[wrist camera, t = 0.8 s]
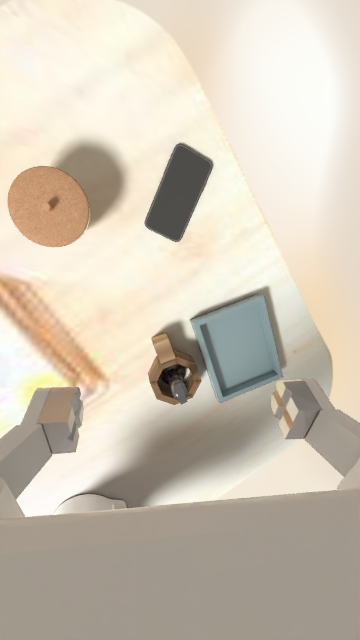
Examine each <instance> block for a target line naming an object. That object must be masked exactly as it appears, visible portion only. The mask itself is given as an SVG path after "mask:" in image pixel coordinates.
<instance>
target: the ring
mask: <svg viewBox="0 0 360 640" xmlns="http://www.w3.org/2000/svg"><path fill="white" fill-rule="evenodd" d="M152 342H153V345H154V348H155V350H156V353H157V355H158V356H157V357H156V358H155V360H154V362H153V364H152V366H151V368H150V371H149V373H148V375H149V380H150V384H151V386H152V389H153V391H154V393H155V396H156V398H157V399H158V400H161V401H164V402H167V403H170V404H173V405H176V404H178V403H180V401H177V400H176V399H175V398H174V395H173V392H172V389H169V388H167V387H164V386H161V385H159V383H158V379H159V377H160V375H161V373H162V370H163V369H165V368H167V367H170V366H172V365H175V364H180V365H183V366H185V367H188V368H189V370H190V374H189V376H188V378H187V380H186V382H185V386H186V389H187V391H188V397H187V398H186V399H187V400H188V399H190V398H193V396H194V394H195V392H196V390H197V388H198V386H199V384H200V383H201V378H200V376H199V373H198V370H197V367H196V364H195V362H194V361H193V359H192V357H191V356H189V355H186V354H184V353H181V352H179V351H176V350H173V349H172V347H171V344H170V341H169V339H168V337H167V335H166V333H163V334H161V335H158V336H155V337H153V338H152Z"/></svg>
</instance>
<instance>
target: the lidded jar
mask: <svg viewBox="0 0 360 640" xmlns="http://www.w3.org/2000/svg"><path fill="white" fill-rule="evenodd" d="M8 209H9V213H10V216H11V219H12V220H13V222H14V224H15V226H16V227H17V228H18V230H19V231H20V232H21V233H22V234H23V235H24V236H25V237H27V238H28V239H29V240H31V241H33V242H35V243H37V244H39V245H43V246H47V247H62V246H66V245H69V244H71V243H73V242H75V241H77V240H78V239H79V238H80V237H81V236H82V235H83V234H84V233H85V231H86V229H87V227H88V225H89V221H90V207H89V203H88V200H87V197H86V195H85V193H84V191H83V189H82V188H81V186H80V185H79V184H78V183H77V181H76V180H75V179H73V178H72V177H71V176H70V175H68V174H67V173H66V172H64V171H62V170H60V169H57V168H54V167H48V166H38V167H33V168H30V169H27V170H25V171H24V172H22V173H21V174H20V175H18V176H17V177H16V179H15V180H14V181H13V183H12V185H11V187H10V190H9V193H8Z"/></svg>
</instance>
